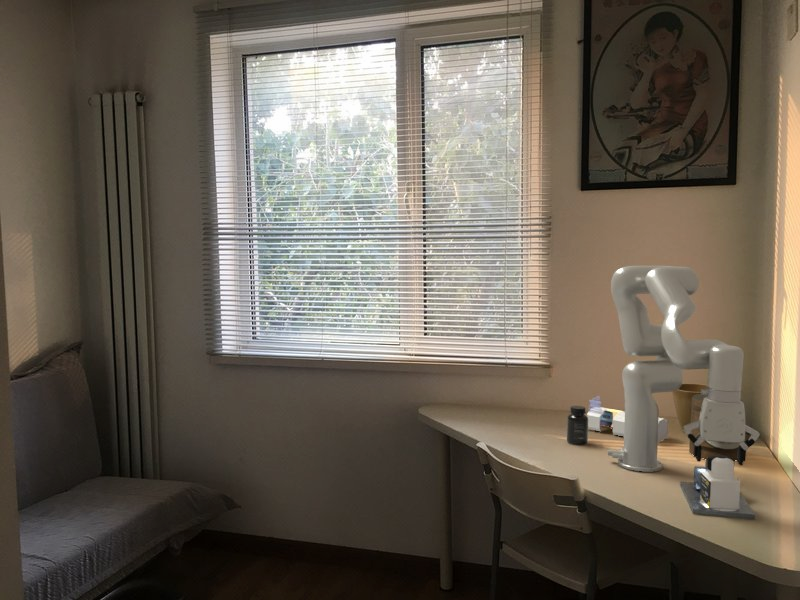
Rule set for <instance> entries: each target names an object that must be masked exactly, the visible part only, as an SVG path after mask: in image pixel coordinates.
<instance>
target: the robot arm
mask: <svg viewBox="0 0 800 600" xmlns="http://www.w3.org/2000/svg"><path fill="white" fill-rule="evenodd" d="M699 286H700V280H699V276H698V275H697V273H696V271H695V270H694V269H693V268H691V267H688V266H675V265H674V266H673V265H627V266H624V267H623V266H622V267H620V268H618V269H617V270H616V271H614V273H613V274H612V277H611V282H610V291H611V296H612V301H613V303H614V305H615V308H616V311H617V314H618V320H619V321H618V322H619V328H620V335H621V341H622V347H623V350H624V352H625V354H626V355H628V356H631V357H635V358H636V357H637V358H639V357H643V358H644V357H655V359H656V360H639V361H636V360H635V361H632V362H629V363H627V364H626V365H625V366H624V368H623V370H622V372H621V373H622V374H621V378H622V384H623V391H624V392H623V394H624V411H625V424H624V437H623V446H622V447H621V449H620V448H619V449H618V450H615V449H607V457H609V456H610V457H611V458H614V459H617V464H618V466H620V467H621V468H623V469H626V470H629V471H633V470H634V471H635V472H639V471H642V472H641V473H653V472H654V471H655V472H658V471H661V470H662V469H663V462H661V461H660V460H659V459H658V444H659V443H658V418H660V417H659V414H660V411H659V410H660V409H659V405H658V403H657V402H656V400H655V398H654V396H653V394H657V393H673V392H672V391H676V390H678V389H679V388H680V387H681V385H682V384H683V381H684V374H683V370H685V371H686V370H707V371H708V372H707V373H708V374H707V376H708V377H707V385H708V386H707V388H706V389H701V394H703V395H706V396H707V398H704V400H703V403H702V407H701V412H700V417H699V420H698V421H695V422H693V423H690V424H687V425H685V426H684V427H683V428H684V430H685V432H686V433H685V432H684V433H685V434H686V436H687V438H688V439H689V441H690V440H691V441H692V442H693V443H694V452H693V455H694V456H693V455H692V456H693V457H694V458H695V460H696V461H697V462H699V463H700V462H701V461H702V459H701V450H702V447H701V445H700V444H701V443H702V442H703V441H704V440H707V441H715V442H727V443H739V444H740V445H739V447H738V451H737V461H736V462H737V464H738V465H739V466H744V462H746V457H747V451H748V450H749V448H750V447H752V446H753V445H755V443H756V441H757V440H758V439H759V437H760V435H761V434H760V432H759V431H758V430H755V429H754V428H752V427H750V426H749V425H746V411H745V404H744V401H743V400H742V401H743V402H742V401H740V399H741V396H742V395H741V394H742V380H743V370H744V369H743V367H744V365H743V364H744V357H745V356H744V354H745V353H744V351H743V349H742V348H741V347H740V346H735V345H731V344H727V343H726V342H724V341H722V340H718V339H713V338H712V339H710V338H709V339H685V337H684V336H683V334H682V332H681V331H680V329H679V325H682V324H683V323H685V322H686V321H688V320H690V319H691V318H692V317H693V315H694V314H695V312H696V310H697V309H696V304H695V302H694V300H693V299H692V298H691V296H693V295H694V294H695V293H697V291H698V290H699ZM638 295H651V297H652V299H653V301H654V302H655V304H656V306H657V308H658V309H659V311H660V313H661V314H662V316H663V318H664V320H663V322H662V324H651V322H650V319H649V317H650V316H649V312H648V308H647V307H646V305H645V303H644V302H643V300H642V299H640V298H639V297H638ZM697 427H698V432H699V434H698V435H697V436H696V437H695V436H694V435H693V434H692V433H691V430H692V429H695V428H697ZM746 433H749V435H750V436H749V437H748V438H747V439H746ZM745 439H746V440H745Z"/></svg>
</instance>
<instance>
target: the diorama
mask: <svg viewBox="0 0 800 600" xmlns="http://www.w3.org/2000/svg"><path fill="white" fill-rule="evenodd" d="M600 400H601V397H600V396H599V395H597V396H595V397H592V399H589V403H590V404H589V406H588V409H587V410H588V412H586V416H587V417H588V429H591V430H596V431H600V432H602V430H601V426H600V425H605V426H609V427H613V429H612V434H613V436H614V435H618V436H617V437H619V436H623V437H622V438H624V424H625V410H624V411H623V410H620V409H619V410H618V409H612V408H607V407H603V406H601V404H602V401H600ZM600 432H599V433H600ZM668 434H669V421H668V420H667V419H665V418H663V417H658V442H659V441H661V440H663V439H665V438H666V439H667V437H668Z"/></svg>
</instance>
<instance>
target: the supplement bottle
mask: <svg viewBox="0 0 800 600" xmlns="http://www.w3.org/2000/svg"><path fill="white" fill-rule="evenodd" d="M569 413H570V414H568V415H567V419H566V442H567V443H568V444H570V445H574V446H585V445H587V444H588V442H589V441H588V440H589V430H588V417H587V411H586V407H585V406H582V405H573V406H571V405H570V411H569Z"/></svg>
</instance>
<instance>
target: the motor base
mask: <svg viewBox="0 0 800 600" xmlns="http://www.w3.org/2000/svg"><path fill="white" fill-rule="evenodd" d="M707 460H708V459H706V460H705V466H694V468H693V482H692V481H690V482H689V481H681V480H680V481H679V486H680V489H681V491H682V493H683V496H684V498H685V499H686V502H687V504H688V506H689V509H690V510H691V513H692V514H693V515H701V516H712V517H713V516H715V517H724V518H726V517H727V518H734V519H744V520H746V519H747V520H756V513H755V512H754V510H753V509H752V507H751V506H750V504H749V503H748V502H747V500H746V499H745V497H744V495H742V493H741V492H740V498H739V509H717V508H709V507H708V506H707V505H706V504H705V502H704V501H703V500H702V499H701V498H700V484H701V471H707ZM735 478H736V479H737V480H739V479H740V478H739V477H735ZM739 481H740V480H739Z"/></svg>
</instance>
